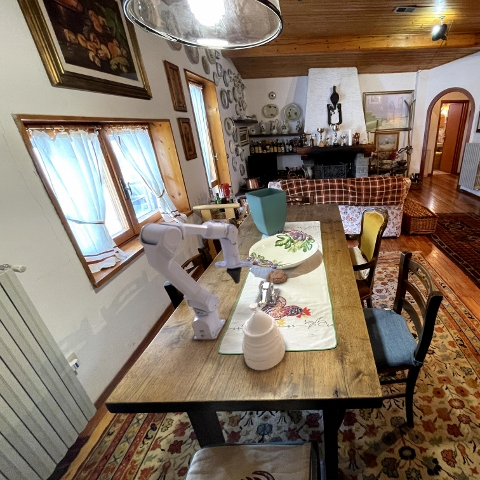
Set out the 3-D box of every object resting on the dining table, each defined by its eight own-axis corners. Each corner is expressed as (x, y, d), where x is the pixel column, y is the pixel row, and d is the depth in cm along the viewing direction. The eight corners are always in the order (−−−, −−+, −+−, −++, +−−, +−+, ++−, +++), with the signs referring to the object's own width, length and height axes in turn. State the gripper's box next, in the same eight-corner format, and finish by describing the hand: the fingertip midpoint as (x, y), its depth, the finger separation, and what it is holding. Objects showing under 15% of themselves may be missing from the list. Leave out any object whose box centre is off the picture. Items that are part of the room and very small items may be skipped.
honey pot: (237, 353, 82) (226, 309, 75) (270, 332, 90) (263, 290, 83) (258, 378, 74) (248, 331, 66) (293, 351, 82) (287, 307, 74)
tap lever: (266, 308, 101) (264, 305, 99) (259, 308, 101) (258, 305, 99) (270, 285, 108) (269, 282, 106) (264, 286, 108) (263, 282, 107)
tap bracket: (274, 305, 104) (272, 290, 101) (255, 305, 104) (252, 290, 101) (279, 290, 113) (277, 276, 110) (261, 290, 114) (259, 277, 111)
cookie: (277, 286, 116) (276, 281, 115) (262, 280, 122) (261, 274, 121) (292, 277, 123) (291, 271, 122) (277, 270, 129) (276, 265, 128)
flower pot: (266, 239, 166) (260, 197, 155) (251, 232, 180) (244, 193, 168) (290, 230, 178) (286, 191, 167) (275, 224, 192) (270, 187, 180)
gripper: (252, 247, 101) (257, 276, 107) (217, 248, 102) (224, 277, 108) (246, 256, 95) (252, 286, 101) (209, 256, 96) (217, 286, 101)
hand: (237, 282), depth 104 cm, fingers closed
